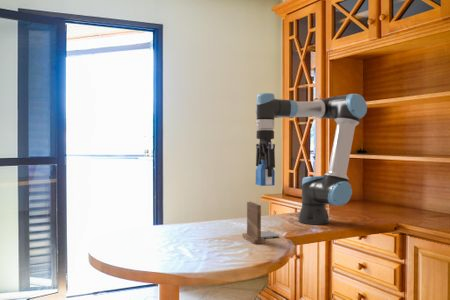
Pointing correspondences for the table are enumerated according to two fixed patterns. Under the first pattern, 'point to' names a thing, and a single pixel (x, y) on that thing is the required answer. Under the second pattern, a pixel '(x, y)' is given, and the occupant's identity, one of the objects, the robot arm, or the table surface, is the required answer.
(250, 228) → the walnut screen
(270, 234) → the slate tile
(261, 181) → the perfume bottle
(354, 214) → the table surface
